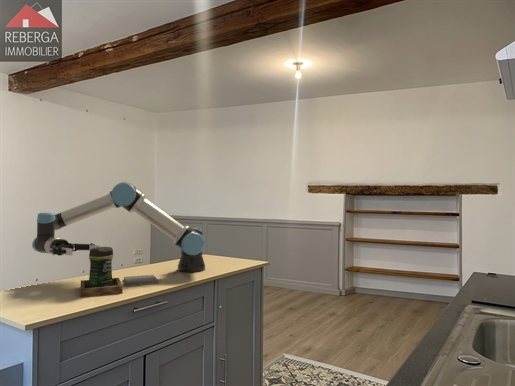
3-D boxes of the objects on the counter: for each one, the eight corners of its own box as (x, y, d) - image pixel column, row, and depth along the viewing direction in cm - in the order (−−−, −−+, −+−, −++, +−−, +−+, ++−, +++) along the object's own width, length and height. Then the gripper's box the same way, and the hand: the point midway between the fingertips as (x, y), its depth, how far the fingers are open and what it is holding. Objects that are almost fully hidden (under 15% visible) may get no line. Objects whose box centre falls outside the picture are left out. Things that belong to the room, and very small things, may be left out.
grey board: (153, 277, 191) (153, 274, 191) (158, 283, 179) (158, 279, 179) (123, 279, 185) (123, 276, 185) (126, 285, 173) (126, 282, 173)
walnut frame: (118, 284, 176) (118, 277, 176) (122, 293, 159) (122, 285, 159) (80, 287, 169) (80, 280, 169) (80, 297, 153) (80, 289, 153)
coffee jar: (98, 293, 158) (99, 248, 159) (84, 291, 162) (85, 247, 162) (116, 288, 167) (116, 246, 167) (102, 286, 170) (103, 245, 171)
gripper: (81, 251, 191) (109, 255, 180) (30, 257, 169) (58, 262, 158) (81, 236, 191) (109, 239, 180) (30, 240, 169) (59, 244, 159)
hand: (85, 250), depth 169 cm, fingers open, 13 cm apart
